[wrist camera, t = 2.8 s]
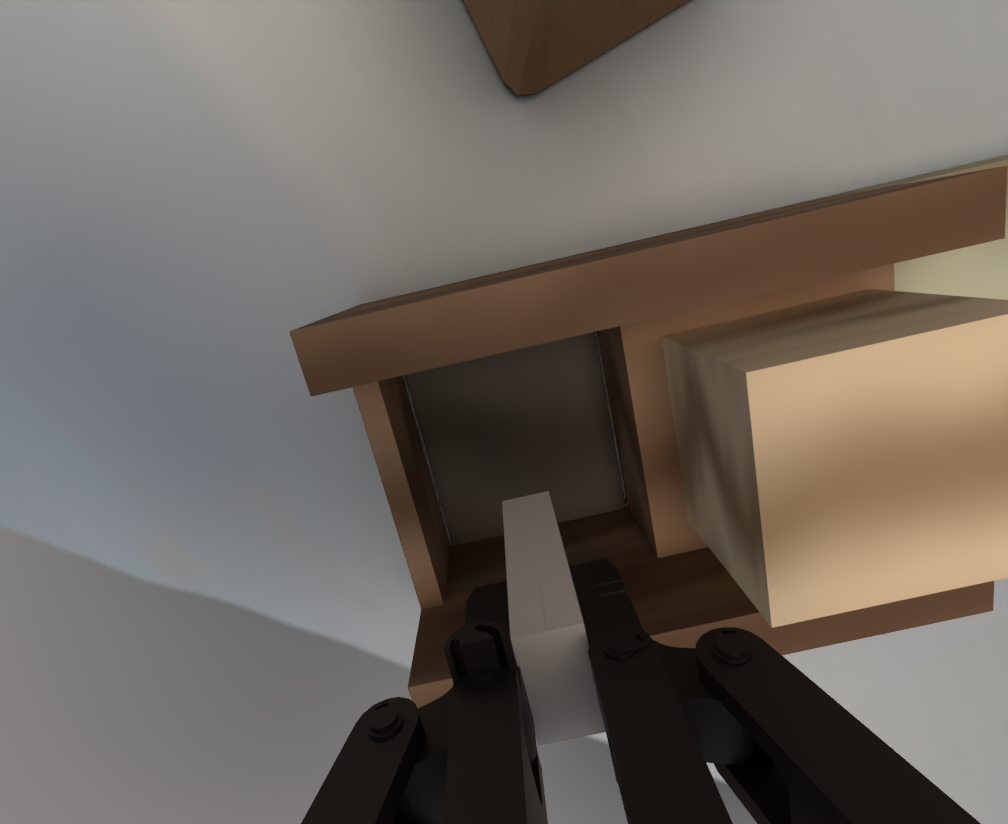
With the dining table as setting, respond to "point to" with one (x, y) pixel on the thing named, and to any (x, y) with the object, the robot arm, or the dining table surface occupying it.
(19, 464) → the dining table surface
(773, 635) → the chute
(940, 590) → the birch block
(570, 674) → the robot arm
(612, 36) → the wooden block
